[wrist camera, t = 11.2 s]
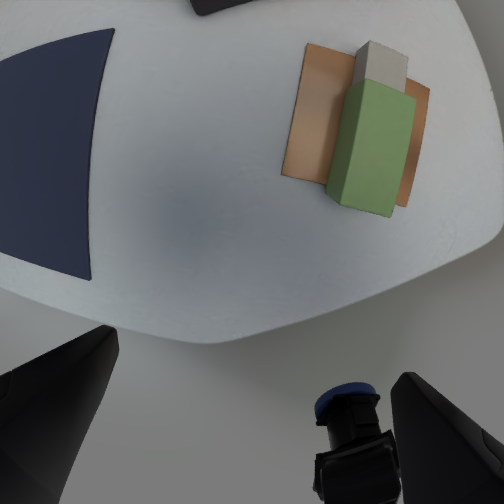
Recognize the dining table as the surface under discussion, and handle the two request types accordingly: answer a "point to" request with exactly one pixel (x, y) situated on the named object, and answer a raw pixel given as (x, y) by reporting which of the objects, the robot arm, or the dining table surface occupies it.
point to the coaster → (337, 118)
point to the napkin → (49, 150)
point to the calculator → (213, 5)
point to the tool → (373, 133)
